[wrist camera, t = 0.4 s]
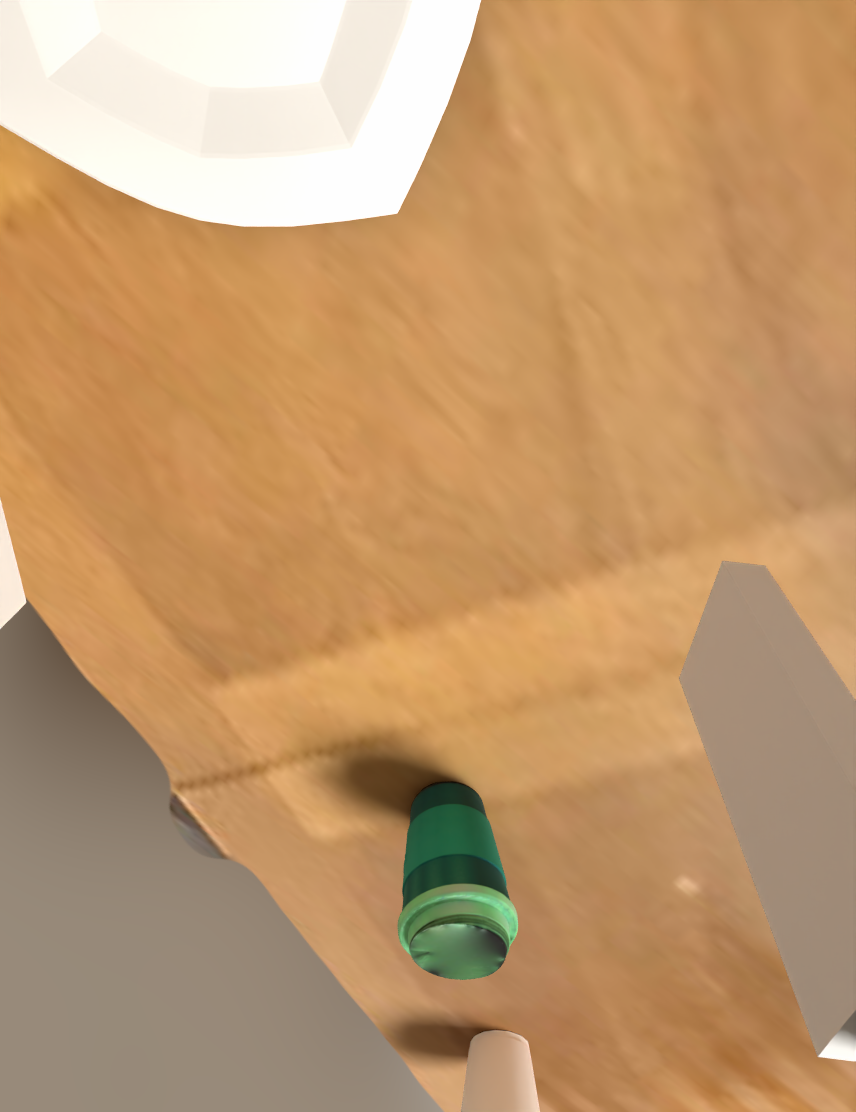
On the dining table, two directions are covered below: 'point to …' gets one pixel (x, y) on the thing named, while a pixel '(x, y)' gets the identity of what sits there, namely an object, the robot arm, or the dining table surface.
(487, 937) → the cup
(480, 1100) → the foam cup
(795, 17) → the dining table surface
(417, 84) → the plate
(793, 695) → the robot arm
